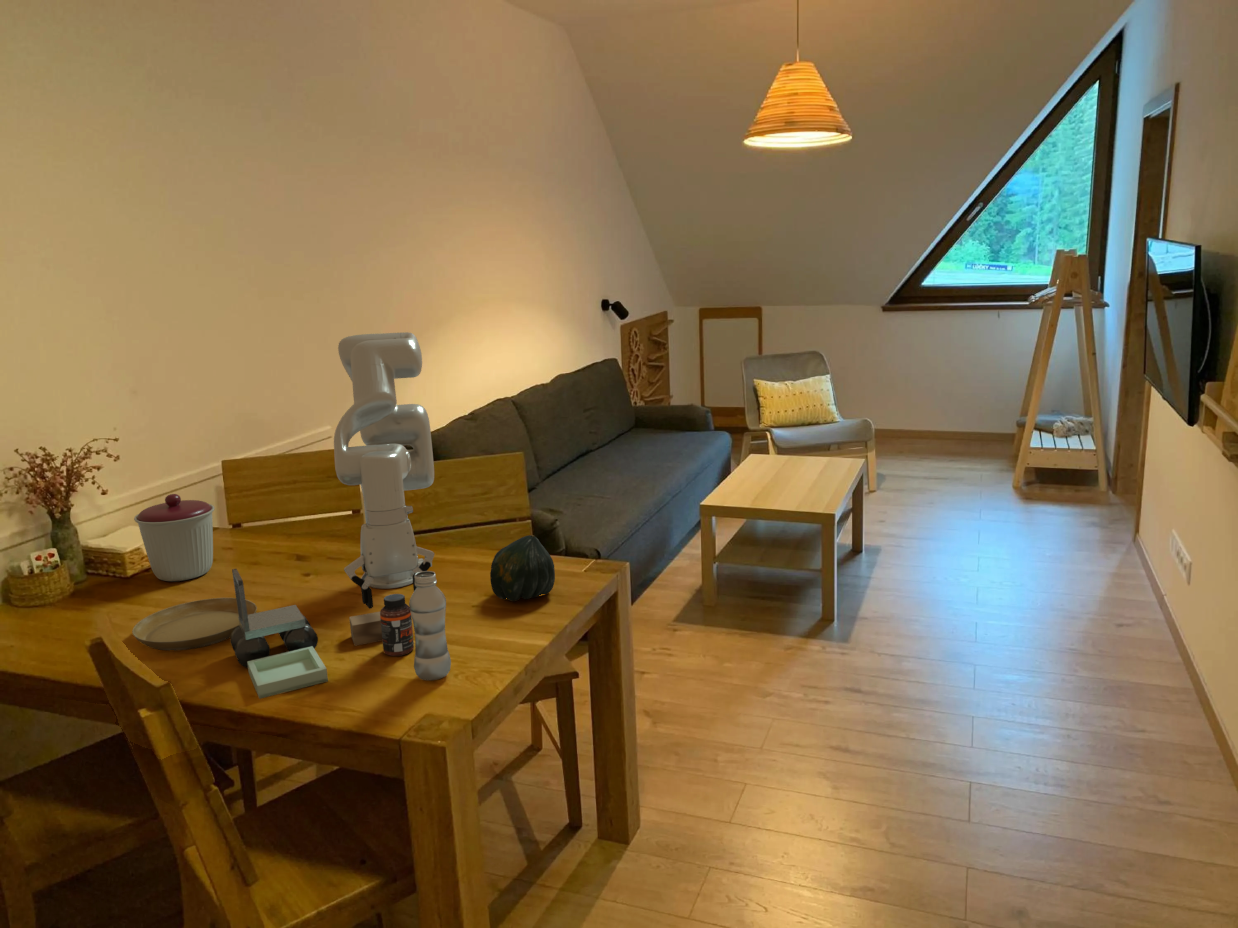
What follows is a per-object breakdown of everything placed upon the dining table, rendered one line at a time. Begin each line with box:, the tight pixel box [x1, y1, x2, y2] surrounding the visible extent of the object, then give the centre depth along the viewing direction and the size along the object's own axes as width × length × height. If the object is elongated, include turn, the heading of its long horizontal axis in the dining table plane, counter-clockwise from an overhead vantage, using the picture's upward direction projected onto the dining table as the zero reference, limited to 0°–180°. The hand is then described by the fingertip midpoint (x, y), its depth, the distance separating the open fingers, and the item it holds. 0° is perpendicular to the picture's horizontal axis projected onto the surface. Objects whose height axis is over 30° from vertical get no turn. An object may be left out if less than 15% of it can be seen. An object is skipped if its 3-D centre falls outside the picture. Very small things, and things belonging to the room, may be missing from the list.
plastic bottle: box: [408, 570, 452, 681], centre depth 164 cm, size 6×7×20 cm
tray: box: [247, 646, 329, 700], centre depth 167 cm, size 12×12×2 cm
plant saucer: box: [132, 597, 258, 651], centre depth 191 cm, size 24×24×3 cm
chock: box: [349, 611, 383, 647], centre depth 184 cm, size 7×5×4 cm
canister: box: [133, 493, 215, 582], centre depth 225 cm, size 18×18×21 cm
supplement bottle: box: [379, 593, 415, 657], centre depth 176 cm, size 6×6×11 cm
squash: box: [489, 534, 556, 602], centre depth 203 cm, size 14×15×15 cm
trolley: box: [229, 568, 319, 669], centre depth 176 cm, size 15×9×18 cm, turn 120°
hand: (394, 601), depth 174 cm, fingers open, 9 cm apart
